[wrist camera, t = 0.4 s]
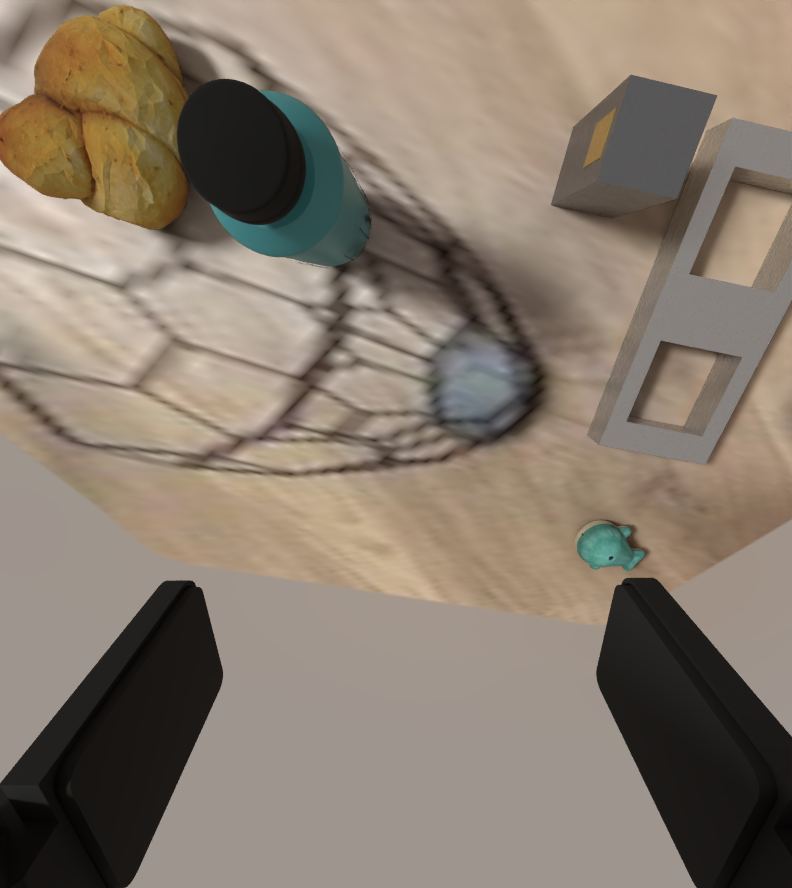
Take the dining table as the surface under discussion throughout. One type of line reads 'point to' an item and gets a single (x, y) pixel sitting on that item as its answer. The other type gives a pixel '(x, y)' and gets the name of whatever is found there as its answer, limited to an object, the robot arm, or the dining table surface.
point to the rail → (704, 301)
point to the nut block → (632, 148)
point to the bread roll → (103, 119)
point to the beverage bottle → (272, 173)
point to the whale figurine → (606, 545)
